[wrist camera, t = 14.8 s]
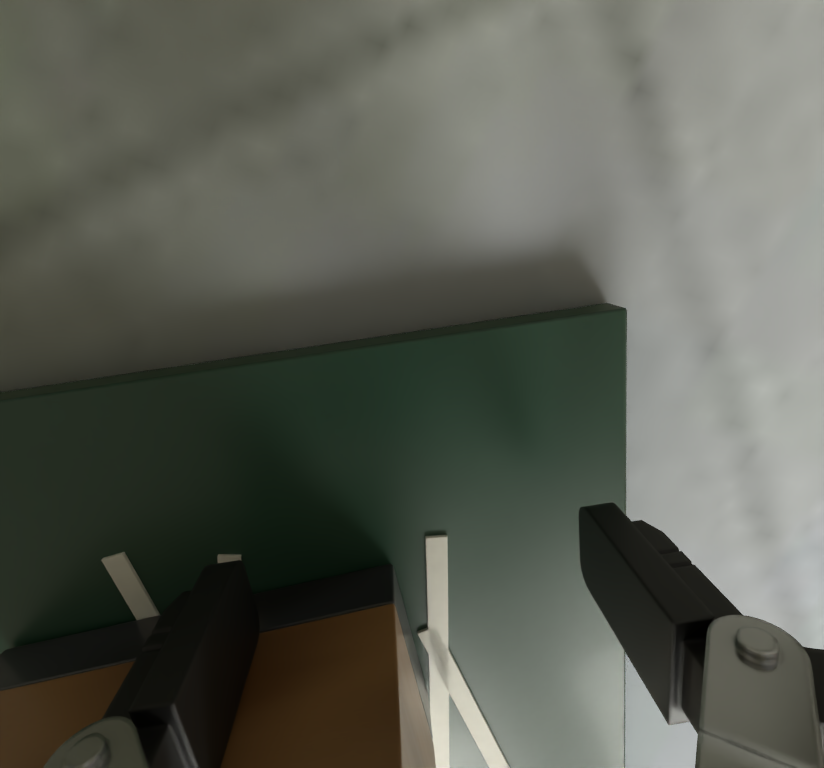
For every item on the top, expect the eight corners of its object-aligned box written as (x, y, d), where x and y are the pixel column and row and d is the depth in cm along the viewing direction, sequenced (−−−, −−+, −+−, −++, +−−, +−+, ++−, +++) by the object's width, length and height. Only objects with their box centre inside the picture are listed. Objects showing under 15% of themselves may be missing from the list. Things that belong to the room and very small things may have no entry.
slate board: (-86, 404, 12) (-131, 420, 11) (608, 302, 12) (630, 307, 11) (167, 921, 19) (155, 962, 18) (612, 843, 19) (626, 879, 18)
